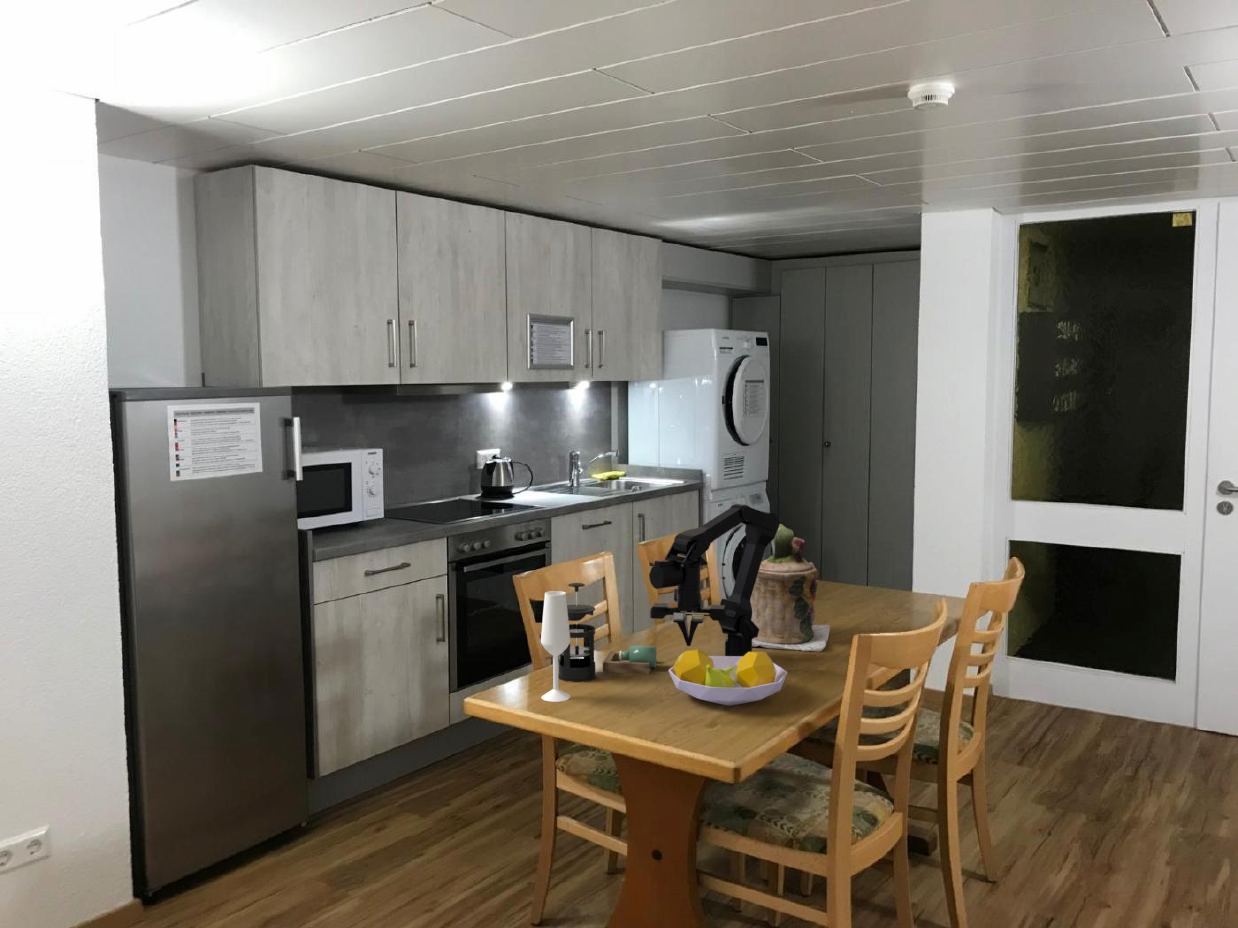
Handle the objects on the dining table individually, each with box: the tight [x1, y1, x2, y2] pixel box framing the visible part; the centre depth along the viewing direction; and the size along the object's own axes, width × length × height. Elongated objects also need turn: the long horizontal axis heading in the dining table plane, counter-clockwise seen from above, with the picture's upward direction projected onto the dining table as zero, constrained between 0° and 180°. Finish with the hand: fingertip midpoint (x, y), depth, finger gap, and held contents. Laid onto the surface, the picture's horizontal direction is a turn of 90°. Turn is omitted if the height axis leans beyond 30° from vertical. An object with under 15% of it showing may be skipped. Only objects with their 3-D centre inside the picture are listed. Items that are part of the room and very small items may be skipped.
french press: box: [558, 582, 597, 683], centre depth 245 cm, size 12×9×23 cm
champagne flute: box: [540, 590, 571, 703], centre depth 228 cm, size 7×7×24 cm
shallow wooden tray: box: [602, 650, 653, 675], centre depth 253 cm, size 12×11×2 cm
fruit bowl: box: [667, 648, 788, 707], centre depth 228 cm, size 28×27×11 cm
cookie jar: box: [750, 523, 831, 653], centre depth 280 cm, size 25×25×32 cm
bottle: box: [619, 645, 658, 668], centre depth 252 cm, size 5×5×9 cm
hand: (688, 645), depth 251 cm, fingers closed
